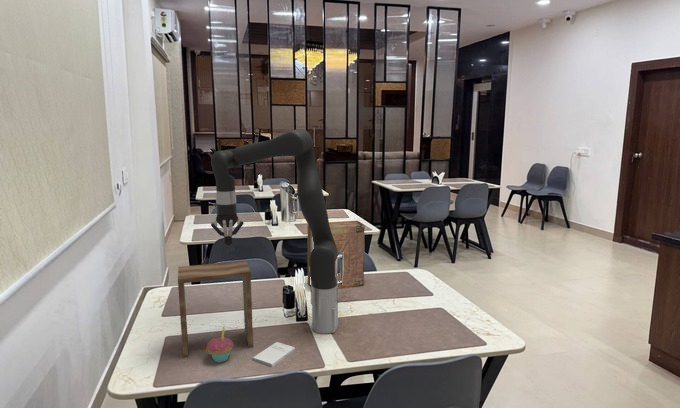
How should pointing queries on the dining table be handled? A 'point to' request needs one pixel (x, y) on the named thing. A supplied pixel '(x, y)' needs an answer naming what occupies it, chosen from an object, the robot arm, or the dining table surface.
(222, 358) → the cupcake
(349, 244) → the book
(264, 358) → the external hard drive
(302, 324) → the dining table surface
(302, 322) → the dining table surface
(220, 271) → the wooden arch
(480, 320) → the dining table surface
